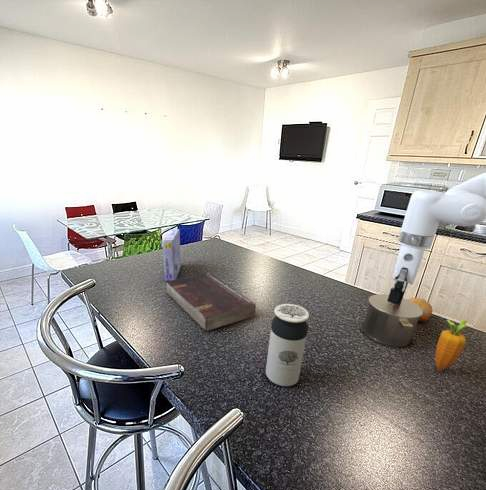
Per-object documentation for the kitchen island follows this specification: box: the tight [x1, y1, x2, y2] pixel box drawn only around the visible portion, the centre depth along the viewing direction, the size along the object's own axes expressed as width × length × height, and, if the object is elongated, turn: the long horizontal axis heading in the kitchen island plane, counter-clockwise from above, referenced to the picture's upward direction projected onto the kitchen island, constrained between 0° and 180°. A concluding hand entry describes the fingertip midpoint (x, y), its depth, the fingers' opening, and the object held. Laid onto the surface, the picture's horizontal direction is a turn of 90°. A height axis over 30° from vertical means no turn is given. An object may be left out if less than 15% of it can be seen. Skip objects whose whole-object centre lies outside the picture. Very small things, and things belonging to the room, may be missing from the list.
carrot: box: [434, 318, 468, 372], centre depth 71 cm, size 5×5×15 cm
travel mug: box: [265, 303, 310, 387], centre depth 68 cm, size 8×8×18 cm
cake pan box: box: [161, 228, 182, 281], centre depth 125 cm, size 19×5×18 cm, turn 178°
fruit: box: [407, 297, 433, 323], centre depth 96 cm, size 8×8×8 cm
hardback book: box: [165, 272, 257, 332], centre depth 102 cm, size 29×19×5 cm, turn 32°
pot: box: [362, 303, 419, 348], centre depth 87 cm, size 13×18×10 cm
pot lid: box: [368, 290, 423, 319], centre depth 84 cm, size 14×14×6 cm
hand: (396, 296), depth 84 cm, fingers open, 9 cm apart
